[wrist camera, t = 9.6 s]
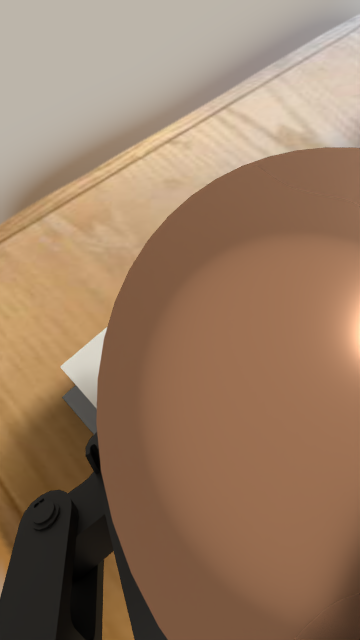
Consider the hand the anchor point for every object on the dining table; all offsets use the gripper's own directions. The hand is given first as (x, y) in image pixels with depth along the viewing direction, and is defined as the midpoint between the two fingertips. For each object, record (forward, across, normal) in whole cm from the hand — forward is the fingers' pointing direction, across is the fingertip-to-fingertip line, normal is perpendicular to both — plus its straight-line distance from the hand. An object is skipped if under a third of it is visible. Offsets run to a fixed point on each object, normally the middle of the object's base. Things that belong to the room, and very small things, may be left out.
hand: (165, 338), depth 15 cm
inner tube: (-1, +2, -10) cm, 10 cm away
